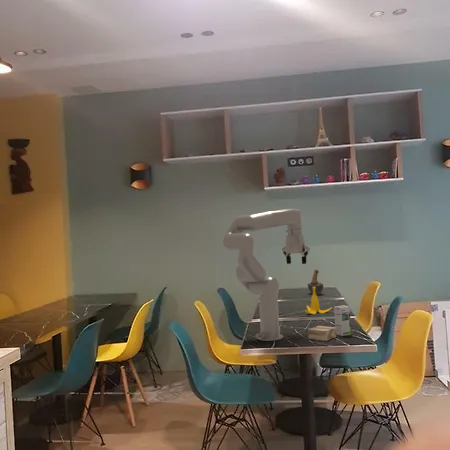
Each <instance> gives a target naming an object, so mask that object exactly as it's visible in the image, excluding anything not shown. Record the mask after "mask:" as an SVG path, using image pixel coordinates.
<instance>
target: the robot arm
mask: <svg viewBox="0 0 450 450" xmlns="http://www.w3.org/2000/svg"><path fill="white" fill-rule="evenodd" d="M301 214H302V213H301V210H300V209H299V208H298V209H296V208H286V209H285V208H284V209H279V210H278V209H277V210H273V211H262V212H259V213H252V214H244V215H243V214H242V215H238V216H236V217H235V218H234V219H233V221H232V222H231V224H230V225H229V227H228V229H227V230H226V233H225V234H224V235H223V239H222V243H223V247H224V248H225V249H226V250H229V251H238V257H237V263H238V265H237V267H236V268H235V269H236V270H235V276H236V278H237V280H238V282H240V283H241V284H242V286H243V287H244V288H245V290H247V291H248V292H249V293H251V294H253V295H261V298H260V299H259V303H258V304H259V324H260V330H259V333H256V334H255V338H257V339H258V340H260V341H263V342H264V341H265V342H274V341H279V340H282V339H284V336H283V334H280V317H279V300H278V299H279V290H280V283H279V280H278V279H277V278H276V277H274V276H267V273H266V269H265V268H264V266H262V264H261V263H260V262H259V260H257V258H256V257H255V256H254V244H255V241H254V238H253V235H251V234H250V232H251V233H252V232H258V231H262V230H267V229H271V228H277V227H282V226H286V227H287V228H286V229H287V230H286V231H285V232H286V236H285V246H284V247H282V248H281V250H282V252H283V255H284V256H285V257H286V264H287V265H290V264H291V263H292V258H291V257H292V256H291V255H292V254H300V255H301V264H302V265H305V264H307V256H308V254H309V253H310V249H311V247H309V246H307V245H306V243H305V237H304V234H303V232H302V215H301Z"/></svg>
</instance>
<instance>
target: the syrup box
mask: <svg viewBox="0 0 450 450" xmlns="http://www.w3.org/2000/svg"><path fill="white" fill-rule="evenodd" d="M333 311H334V323H335V324H334V325H335V326H334V327H336V336H340V337H344V336H350V335H352V322H351V320H352V319H351V308H350V306H349V305H338V306H335V305H334V306H333Z"/></svg>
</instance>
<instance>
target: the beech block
mask: <svg viewBox="0 0 450 450" xmlns="http://www.w3.org/2000/svg"><path fill="white" fill-rule="evenodd" d="M307 335H308V337H307V338H308V339H309V340H315V341H323V342H327V341H330V340H332V339H335V338H336V337H337V336H338V335H337V334H336V327H335V326H333V327H332V326H325V325H317V326H313V327H311V328H308V330H307Z"/></svg>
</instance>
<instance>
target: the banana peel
mask: <svg viewBox="0 0 450 450" xmlns="http://www.w3.org/2000/svg"><path fill="white" fill-rule="evenodd" d="M312 288H313V294H311V300H310V305H306V309H305V310H304V311H305V313H306V314H309V315H316V314H317V313H319V314H325V313H327V312H329V311H330V310H332V308H333V307H332V306H331V307H329V308H328V309H324V310H321V309H320V302H319V298H318V295H316V293H315V288H316V287H312Z"/></svg>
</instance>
